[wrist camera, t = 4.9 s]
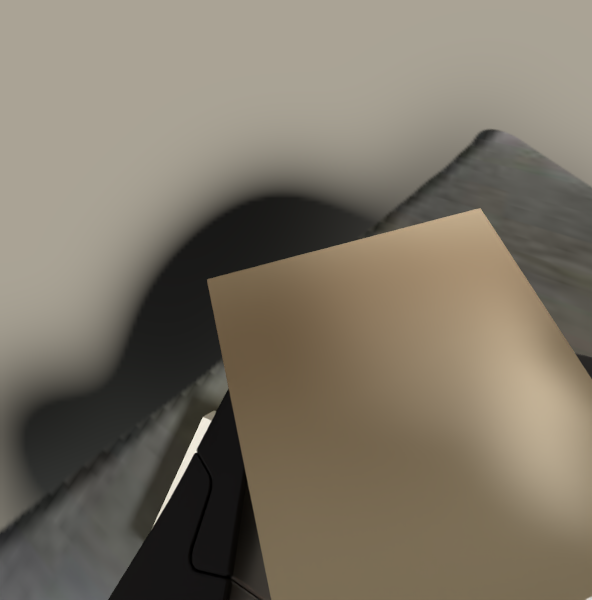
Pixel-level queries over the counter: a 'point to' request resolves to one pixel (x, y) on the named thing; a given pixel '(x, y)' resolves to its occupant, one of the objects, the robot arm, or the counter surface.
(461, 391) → the beech block
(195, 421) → the counter surface
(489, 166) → the counter surface
